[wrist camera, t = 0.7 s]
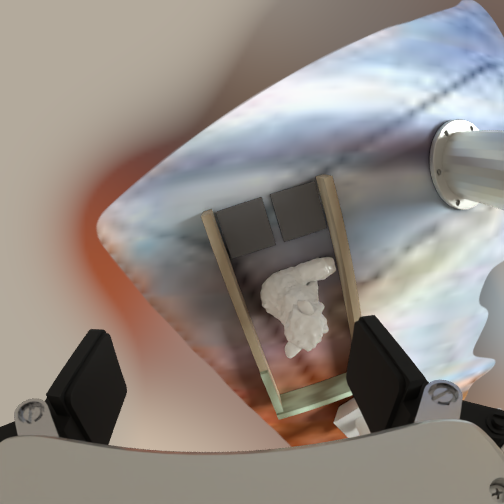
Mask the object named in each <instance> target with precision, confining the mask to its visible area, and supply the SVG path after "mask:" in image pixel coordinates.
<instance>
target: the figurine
mask: <svg viewBox="0 0 504 504" xmlns="http://www.w3.org/2000/svg"><path fill="white" fill-rule="evenodd" d="M334 424H335V425H336V426H337V427H338V428H339V429H340V430H341V431H342V432H343V433H344V434H345V435H346V436H347V437H348V438H351V437H356V436H359V435H360V436H361V435H365V434H370V430H369V428H368V426H367V424H366V422H365V420H364V418H363V415H362V413H361V411H360V409H359V407H358V405H357V403H356V401H355V399H354V398H352V399H351V400H349V401H348V402H346V403H344V404H343V405H341V406H339V407H338V411H337V414H336V417H335V420H334Z"/></svg>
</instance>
